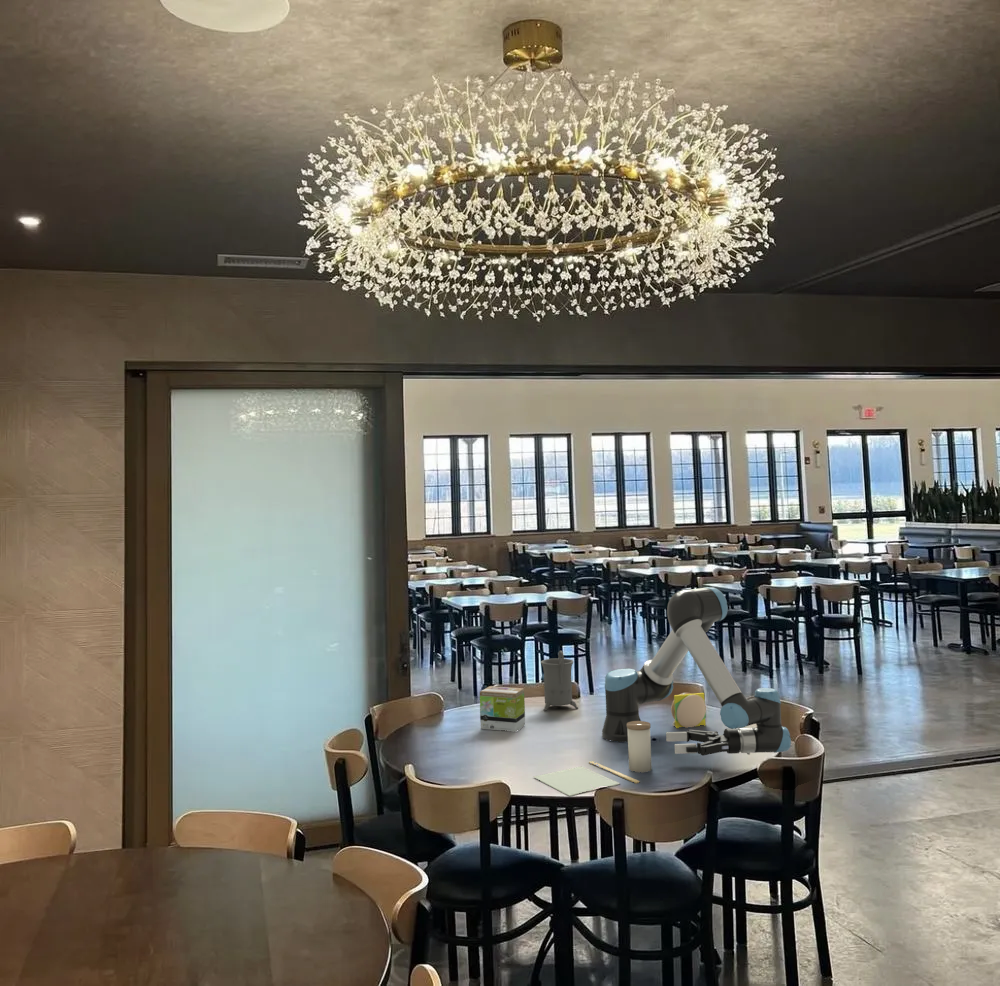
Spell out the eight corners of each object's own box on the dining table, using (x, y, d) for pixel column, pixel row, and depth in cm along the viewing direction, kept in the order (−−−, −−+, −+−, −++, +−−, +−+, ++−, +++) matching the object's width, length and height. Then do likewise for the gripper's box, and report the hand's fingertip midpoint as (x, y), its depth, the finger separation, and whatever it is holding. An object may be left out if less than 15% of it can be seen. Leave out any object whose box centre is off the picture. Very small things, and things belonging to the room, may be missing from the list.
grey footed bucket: (537, 704, 341) (534, 646, 342) (570, 702, 344) (568, 643, 344) (547, 715, 323) (544, 653, 323) (582, 712, 325) (580, 650, 326)
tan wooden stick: (588, 763, 258) (588, 761, 258) (592, 762, 258) (592, 761, 259) (635, 783, 237) (635, 782, 237) (639, 782, 237) (639, 781, 238)
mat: (533, 777, 245) (533, 776, 245) (581, 767, 254) (581, 766, 254) (569, 796, 228) (569, 795, 228) (620, 784, 236) (620, 783, 236)
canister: (623, 768, 252) (621, 723, 252) (642, 763, 255) (640, 719, 256) (638, 774, 245) (636, 728, 246) (657, 769, 249) (655, 724, 249)
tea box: (479, 730, 303) (478, 690, 304) (490, 723, 313) (488, 685, 313) (516, 732, 298) (515, 692, 298) (526, 725, 307) (524, 687, 308)
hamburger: (697, 721, 305) (696, 689, 305) (708, 726, 297) (707, 694, 297) (669, 724, 302) (667, 692, 302) (678, 730, 294) (677, 697, 294)
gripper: (750, 765, 237) (679, 767, 238) (728, 741, 262) (663, 743, 263) (749, 739, 238) (678, 741, 238) (727, 718, 262) (662, 720, 263)
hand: (670, 742), depth 250 cm, fingers open, 13 cm apart
